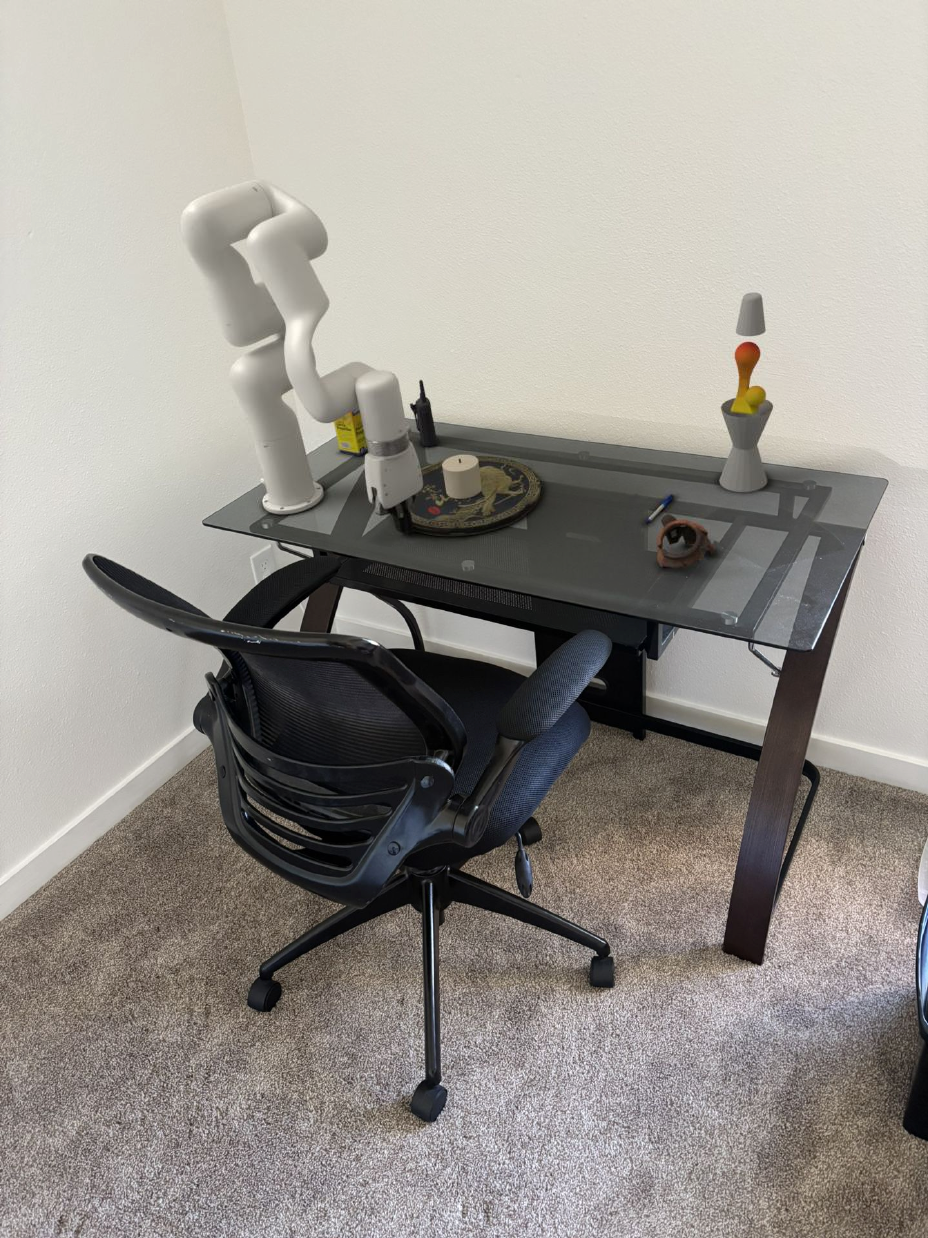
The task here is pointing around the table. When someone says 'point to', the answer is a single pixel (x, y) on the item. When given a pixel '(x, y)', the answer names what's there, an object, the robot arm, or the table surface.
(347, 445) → the supplement box
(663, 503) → the ballpoint pen
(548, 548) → the table surface
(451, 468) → the candle
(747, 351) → the lava lamp
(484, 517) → the decorative plate
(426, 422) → the two-way radio
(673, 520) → the pottery mug
